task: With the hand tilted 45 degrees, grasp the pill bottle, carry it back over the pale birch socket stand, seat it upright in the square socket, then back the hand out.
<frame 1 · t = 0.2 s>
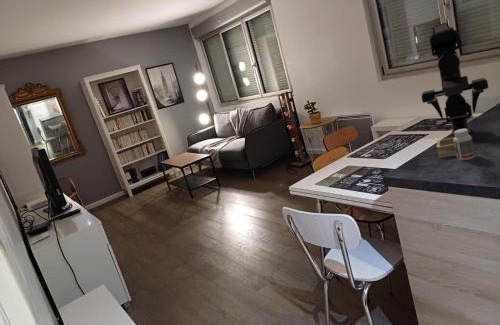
hand: (457, 115, 119), 15 cm above the countertop, tool pointing down, fingers open, 9 cm apart
pill bottle: (466, 158, 121), on the countertop
birch socket stand: (451, 151, 130), on the countertop
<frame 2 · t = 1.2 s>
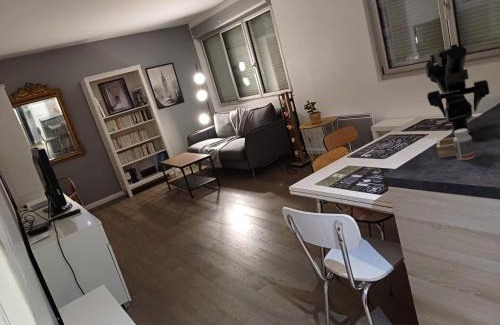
hand: (459, 113, 125), 13 cm above the countertop, tool tilted 45°, fingers open, 9 cm apart
nothing on the countertop moved.
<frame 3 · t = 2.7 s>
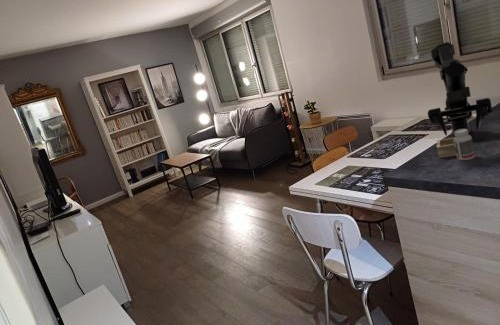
hand: (461, 132, 120), 9 cm above the countertop, tool tilted 45°, fingers open, 9 cm apart
nothing on the countertop moved.
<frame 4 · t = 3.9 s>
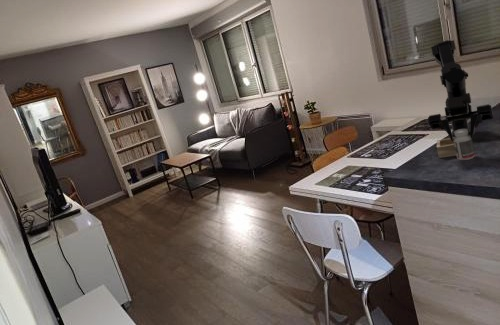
hand: (461, 139, 119), 7 cm above the countertop, tool tilted 45°, fingers closed on pill bottle, 5 cm apart
pill bottle: (466, 158, 121), on the countertop, touching gripper
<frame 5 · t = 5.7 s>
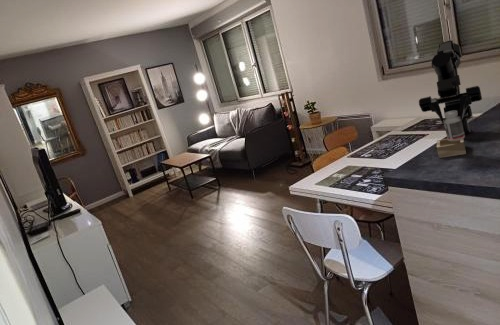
hand: (451, 120, 122), 13 cm above the countertop, tool tilted 45°, fingers closed on pill bottle, 5 cm apart
pill bottle: (456, 139, 125), point 6 cm above the countertop, touching gripper
when the fingers open (8 cm above the countertop, at t = 7.6 s): pill bottle stays where it is, resting on birch socket stand.
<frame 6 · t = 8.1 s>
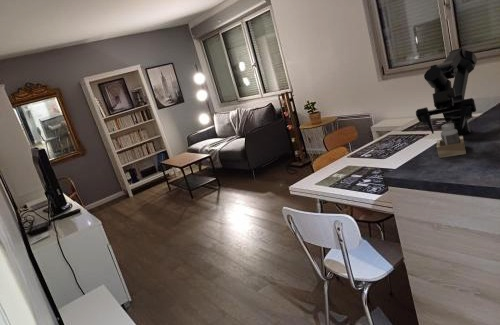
hand: (447, 130, 127), 9 cm above the countertop, tool tilted 45°, fingers open, 9 cm apart
pill bottle: (452, 150, 130), resting on birch socket stand
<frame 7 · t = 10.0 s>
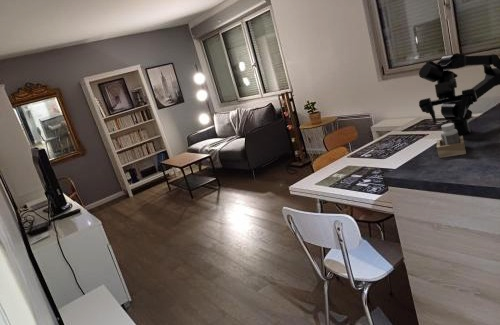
hand: (448, 120, 133), 10 cm above the countertop, tool tilted 45°, fingers open, 9 cm apart
nothing on the countertop moved.
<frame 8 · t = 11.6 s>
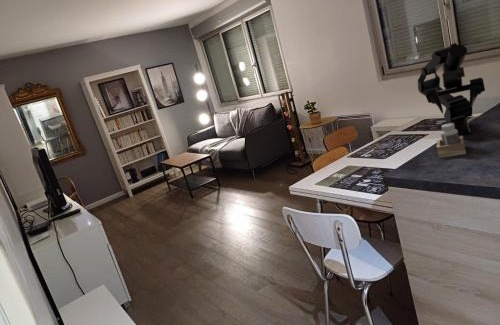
hand: (456, 110, 129), 14 cm above the countertop, tool tilted 45°, fingers open, 9 cm apart
nothing on the countertop moved.
at the end: pill bottle 0.4 cm off-centre on the birch socket stand, point 0.3 cm above the birch socket stand's base; pill bottle tilted 0°; the gripper is holding nothing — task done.
